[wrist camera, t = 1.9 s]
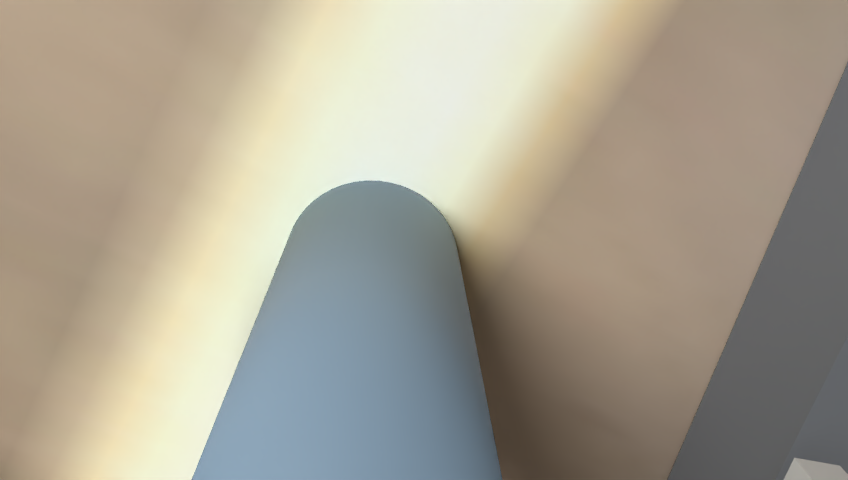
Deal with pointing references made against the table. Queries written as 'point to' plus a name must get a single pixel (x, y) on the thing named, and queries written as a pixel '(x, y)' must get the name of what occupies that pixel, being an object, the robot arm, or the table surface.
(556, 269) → the table surface
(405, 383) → the peg
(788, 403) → the socket
